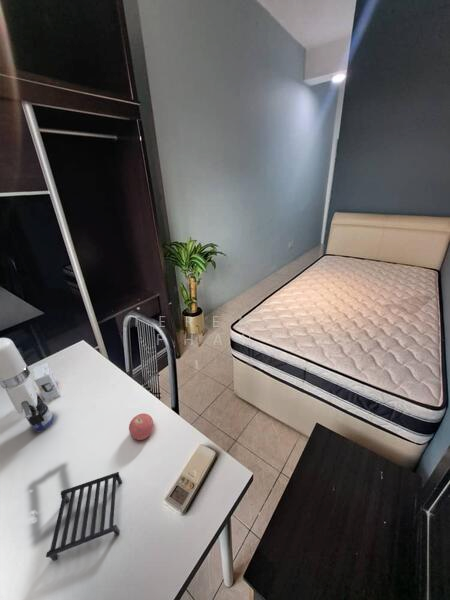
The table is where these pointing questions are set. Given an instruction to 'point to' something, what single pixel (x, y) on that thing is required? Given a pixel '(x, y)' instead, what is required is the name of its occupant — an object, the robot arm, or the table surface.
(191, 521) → the table surface
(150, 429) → the apple
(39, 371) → the ink box
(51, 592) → the table surface
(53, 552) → the wire rack
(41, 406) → the pill bottle
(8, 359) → the robot arm
